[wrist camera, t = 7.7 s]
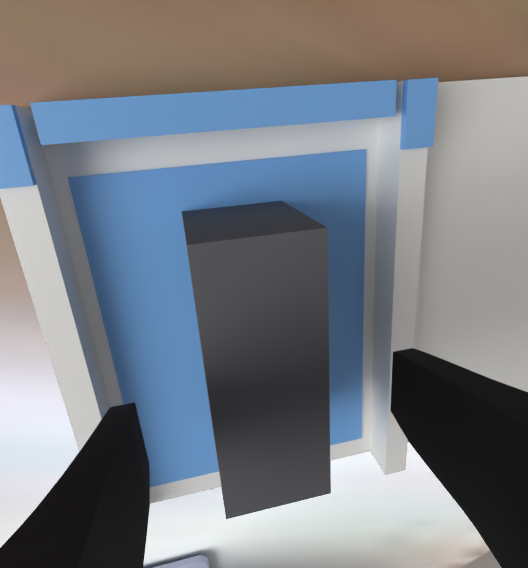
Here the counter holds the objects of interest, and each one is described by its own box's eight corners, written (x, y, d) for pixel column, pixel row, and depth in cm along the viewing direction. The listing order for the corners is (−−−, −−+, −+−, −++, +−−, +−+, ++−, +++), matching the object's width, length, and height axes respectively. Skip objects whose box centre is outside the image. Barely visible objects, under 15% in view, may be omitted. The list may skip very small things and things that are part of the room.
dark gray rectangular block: (292, 408, 17) (330, 493, 13) (212, 424, 17) (226, 519, 13) (281, 200, 14) (327, 227, 10) (181, 211, 14) (187, 245, 9)
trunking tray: (574, 387, 23) (630, 422, 20) (116, 493, 18) (106, 556, 16) (652, 69, 17) (746, 57, 14) (8, 113, 12) (-37, 106, 10)
